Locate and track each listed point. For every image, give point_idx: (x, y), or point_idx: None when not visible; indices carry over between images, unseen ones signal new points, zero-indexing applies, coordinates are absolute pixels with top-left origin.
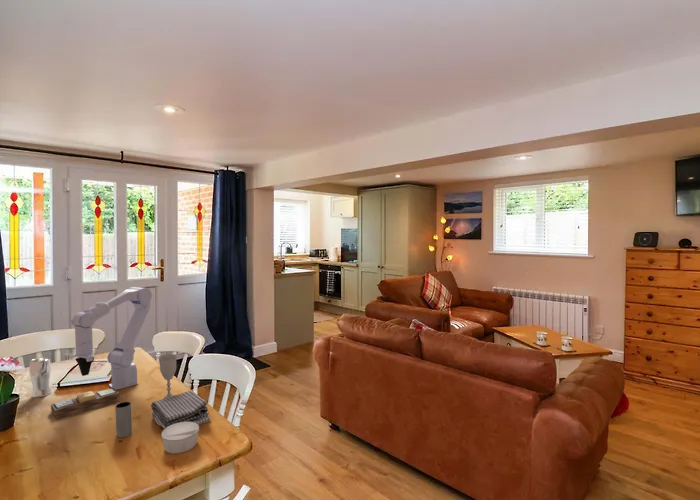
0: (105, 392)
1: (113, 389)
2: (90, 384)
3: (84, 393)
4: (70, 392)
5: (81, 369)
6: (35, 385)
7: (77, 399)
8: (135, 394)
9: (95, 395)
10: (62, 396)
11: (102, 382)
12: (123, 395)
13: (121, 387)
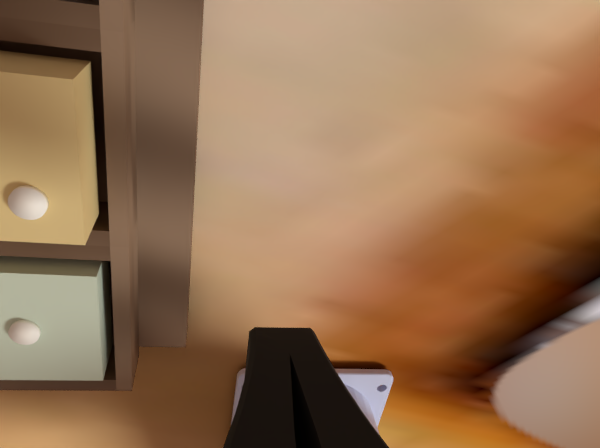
0: (16, 321)
1: (83, 382)
2: (558, 294)
3: (50, 164)
4: (557, 132)
5: (230, 432)
6: None
7: (46, 60)
8: (17, 431)
9: None
10: (536, 43)
11: (504, 357)
12: None
13: (233, 412)
